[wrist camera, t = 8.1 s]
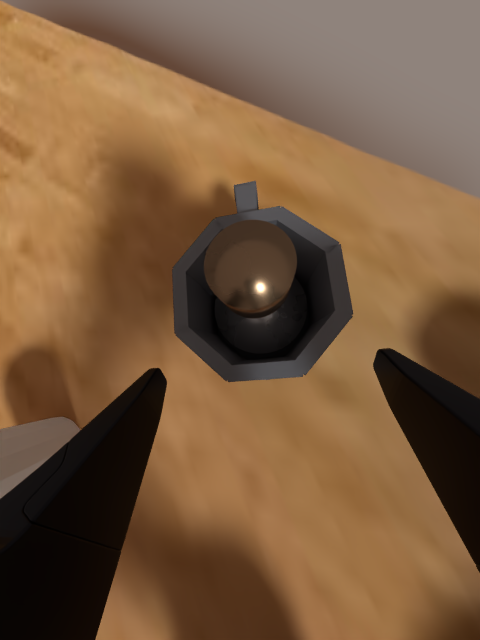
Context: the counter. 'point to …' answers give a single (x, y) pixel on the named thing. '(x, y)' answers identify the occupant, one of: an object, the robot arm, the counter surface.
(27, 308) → the counter surface
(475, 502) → the robot arm
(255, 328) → the plunger
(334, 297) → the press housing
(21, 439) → the shot glass
